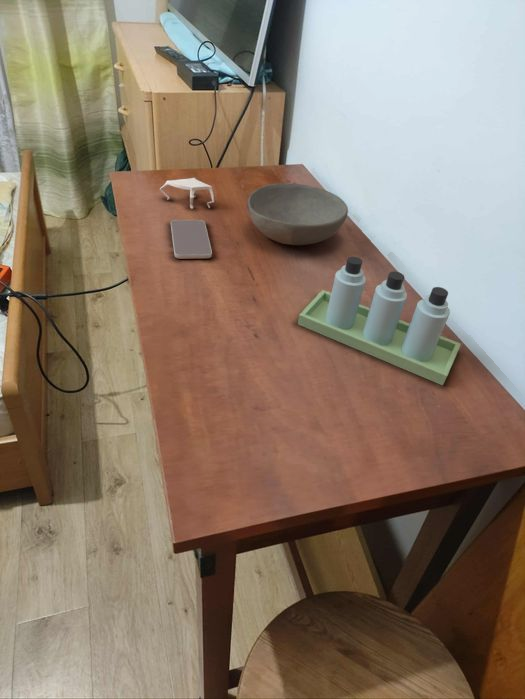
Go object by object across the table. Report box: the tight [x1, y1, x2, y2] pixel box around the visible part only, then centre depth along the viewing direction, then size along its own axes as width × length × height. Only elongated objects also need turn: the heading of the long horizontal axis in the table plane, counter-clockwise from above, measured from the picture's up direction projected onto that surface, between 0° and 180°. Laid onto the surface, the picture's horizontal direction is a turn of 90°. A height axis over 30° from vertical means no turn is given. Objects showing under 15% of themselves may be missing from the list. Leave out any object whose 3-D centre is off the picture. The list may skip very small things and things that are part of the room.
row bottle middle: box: [363, 270, 408, 345], centre depth 83 cm, size 5×5×12 cm
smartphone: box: [170, 219, 213, 260], centre depth 105 cm, size 7×1×15 cm
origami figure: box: [159, 177, 215, 210], centre depth 117 cm, size 12×8×5 cm
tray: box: [297, 289, 462, 387], centre depth 86 cm, size 26×10×2 cm, turn 60°
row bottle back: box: [326, 256, 367, 329], centre depth 85 cm, size 5×5×12 cm
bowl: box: [247, 182, 349, 246], centre depth 109 cm, size 21×21×8 cm
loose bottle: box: [401, 286, 451, 362], centre depth 80 cm, size 5×5×12 cm
